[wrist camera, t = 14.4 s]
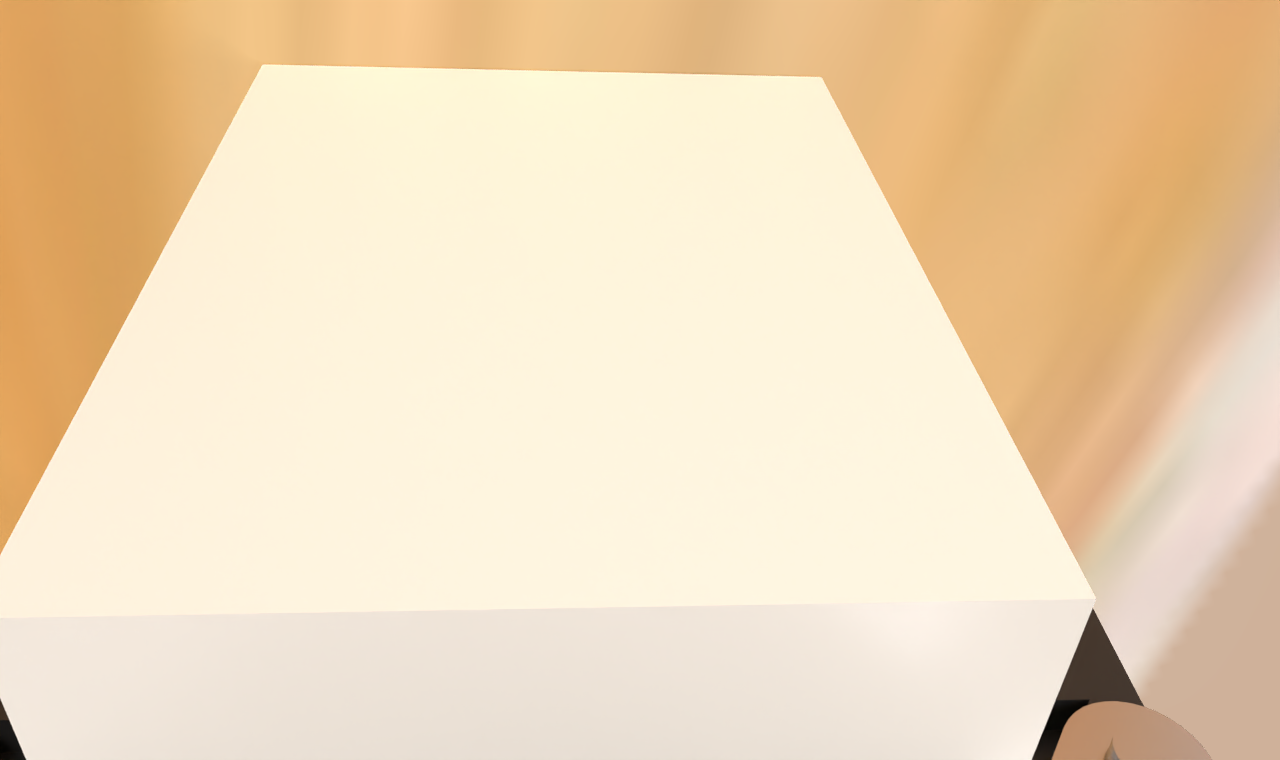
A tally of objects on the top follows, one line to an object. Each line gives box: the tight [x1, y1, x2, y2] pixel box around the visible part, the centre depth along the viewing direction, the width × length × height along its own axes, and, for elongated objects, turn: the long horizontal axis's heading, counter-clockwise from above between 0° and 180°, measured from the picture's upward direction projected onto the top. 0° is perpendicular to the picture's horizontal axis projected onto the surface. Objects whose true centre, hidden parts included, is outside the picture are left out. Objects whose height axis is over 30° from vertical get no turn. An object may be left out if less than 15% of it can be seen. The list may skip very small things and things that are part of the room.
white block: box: [0, 64, 1096, 760], centre depth 12 cm, size 7×7×9 cm
